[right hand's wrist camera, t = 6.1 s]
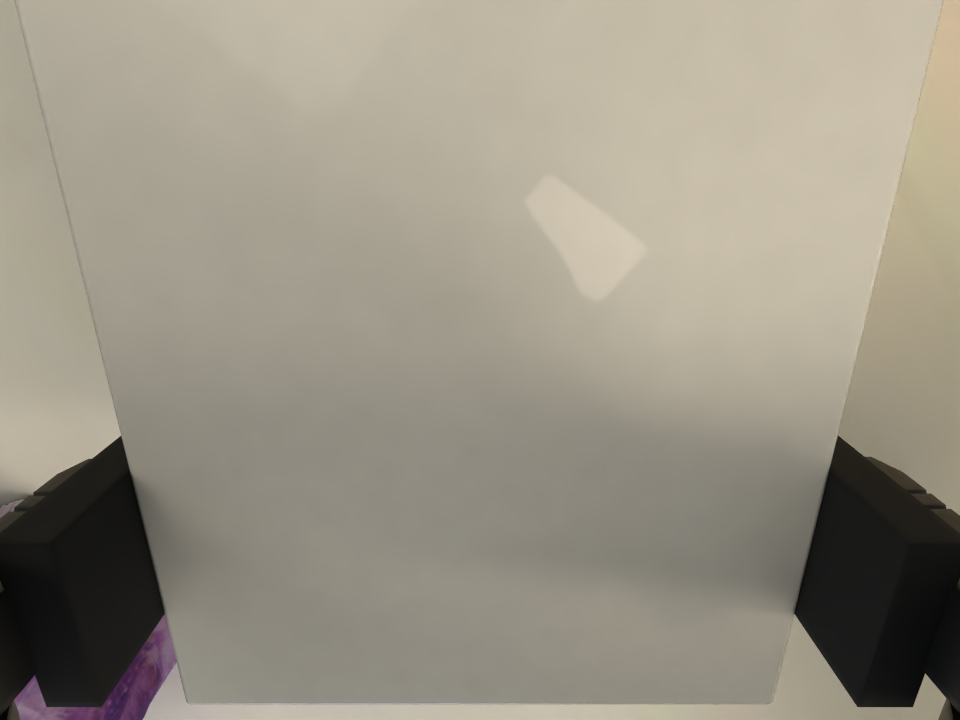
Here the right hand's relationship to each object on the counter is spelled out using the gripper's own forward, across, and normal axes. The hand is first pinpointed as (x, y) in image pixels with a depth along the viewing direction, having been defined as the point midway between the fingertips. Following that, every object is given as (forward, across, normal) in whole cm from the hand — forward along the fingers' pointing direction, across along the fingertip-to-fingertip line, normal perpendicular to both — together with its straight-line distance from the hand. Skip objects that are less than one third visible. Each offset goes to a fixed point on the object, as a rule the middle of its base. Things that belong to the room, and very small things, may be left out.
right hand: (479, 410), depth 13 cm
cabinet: (+5, 0, -7) cm, 9 cm away
